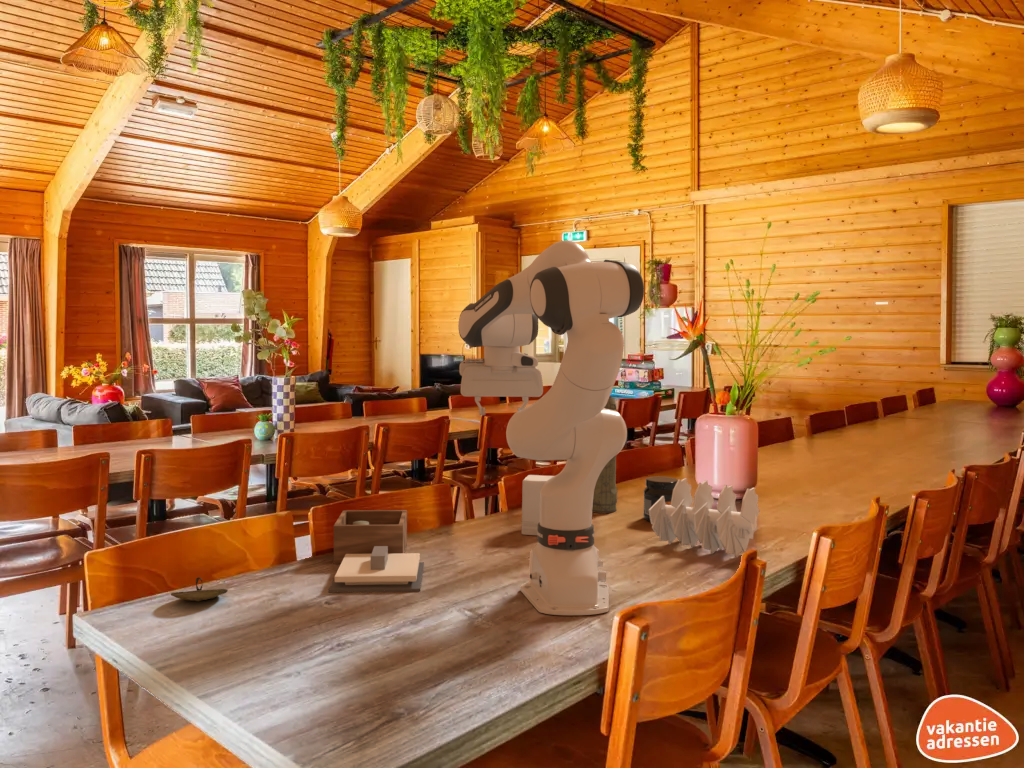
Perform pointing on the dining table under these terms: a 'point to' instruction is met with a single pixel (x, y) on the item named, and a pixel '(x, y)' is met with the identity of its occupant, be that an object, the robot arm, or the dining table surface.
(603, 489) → the thermos
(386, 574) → the lid panel
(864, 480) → the dining table surface
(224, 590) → the lid
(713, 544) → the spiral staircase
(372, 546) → the crate
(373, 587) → the mat
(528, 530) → the supplement box
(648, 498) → the supplement container
